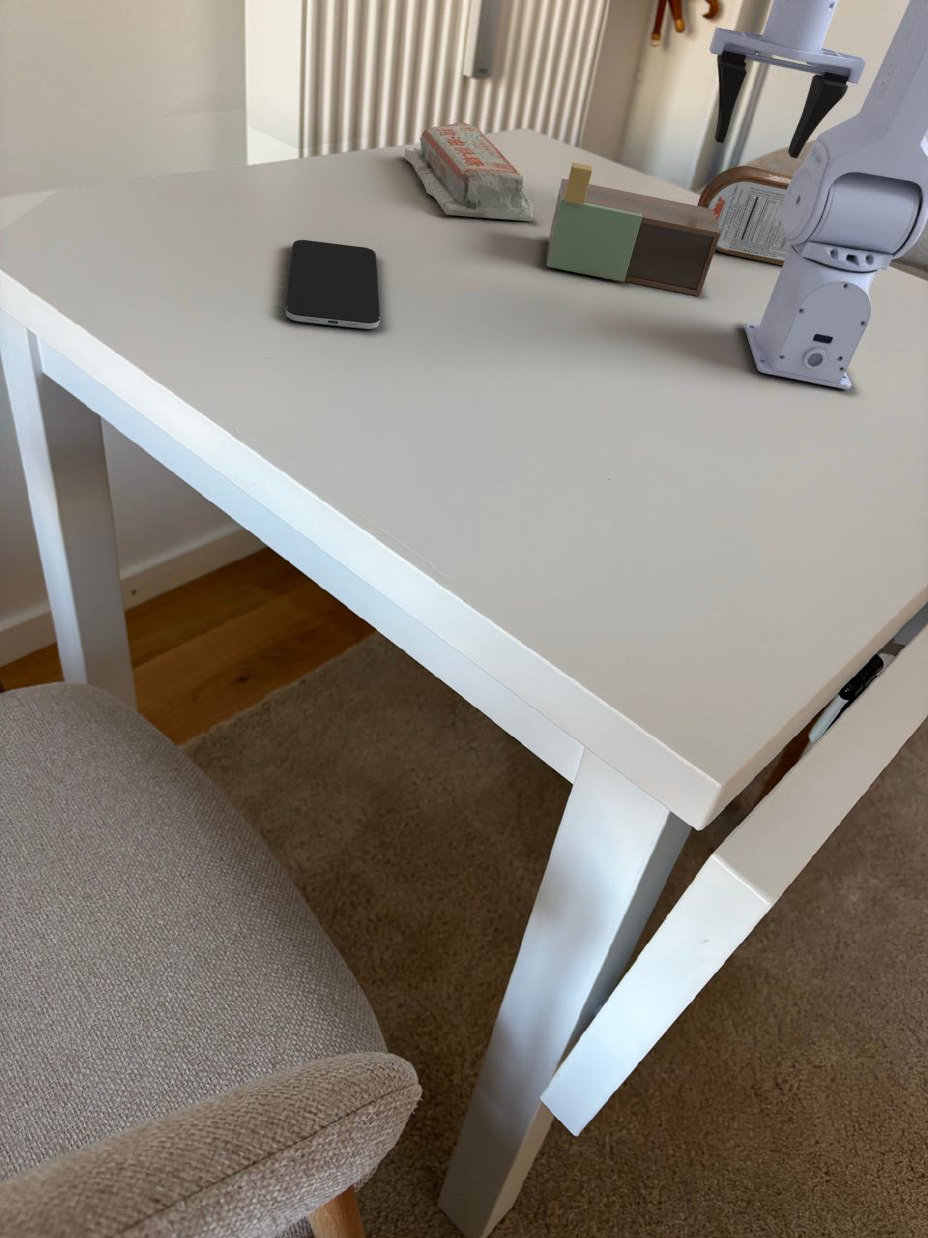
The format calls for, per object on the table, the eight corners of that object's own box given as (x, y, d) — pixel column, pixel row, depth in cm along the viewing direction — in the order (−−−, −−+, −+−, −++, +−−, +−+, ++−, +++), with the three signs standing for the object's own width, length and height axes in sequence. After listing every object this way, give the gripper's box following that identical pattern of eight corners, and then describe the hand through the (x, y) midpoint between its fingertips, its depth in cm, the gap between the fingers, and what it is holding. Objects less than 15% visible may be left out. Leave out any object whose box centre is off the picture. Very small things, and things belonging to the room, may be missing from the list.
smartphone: (284, 312, 71) (292, 237, 81) (284, 321, 71) (292, 245, 82) (381, 323, 72) (376, 248, 83) (380, 331, 72) (375, 255, 83)
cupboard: (699, 296, 89) (720, 232, 85) (546, 265, 89) (560, 200, 85) (693, 269, 94) (713, 208, 90) (548, 240, 94) (561, 178, 90)
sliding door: (624, 283, 88) (652, 182, 82) (546, 268, 88) (568, 165, 82) (623, 278, 89) (651, 177, 83) (546, 262, 89) (568, 161, 83)
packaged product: (545, 175, 94) (451, 167, 91) (535, 224, 97) (443, 218, 94) (492, 120, 106) (407, 112, 103) (484, 165, 109) (402, 158, 106)
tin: (820, 266, 102) (853, 185, 96) (825, 276, 99) (860, 194, 94) (685, 238, 101) (711, 156, 96) (688, 249, 99) (714, 165, 93)
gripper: (876, -1, 89) (818, 151, 98) (727, -32, 89) (683, 123, 97) (893, 10, 84) (830, 170, 92) (736, -23, 83) (688, 140, 92)
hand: (755, 147), depth 95 cm, fingers open, 7 cm apart
